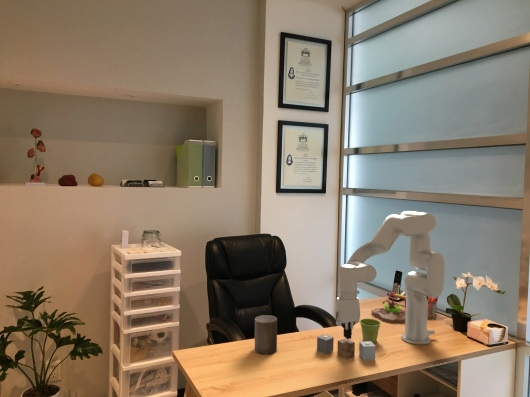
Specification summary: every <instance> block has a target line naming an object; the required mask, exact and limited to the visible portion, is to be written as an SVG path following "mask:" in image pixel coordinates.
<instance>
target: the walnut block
mask: <svg viewBox="0 0 530 397" xmlns="http://www.w3.org/2000/svg"><path fill="white" fill-rule="evenodd" d="M355 346H356V342H355V341H353V340H351V339H347V338H343V339H339V340H337V351H336V352H337V355H338V356H339V357H341V358H343V359H345V360H347V359H350V358H354V357H355V351H356V347H355Z"/></svg>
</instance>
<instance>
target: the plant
mask: <svg viewBox="0 0 530 397" xmlns="http://www.w3.org/2000/svg"><path fill="white" fill-rule="evenodd" d="M395 300H399V297H398V296H393V298H392V300H391V302H390V300H383V301H382V302H381V303H382V306H383V307H378V308H374V309H372V310H371V316H372V317H374V318H377V320H380V321H381V322H384V323H387V324H393V325H394V324H405V316H406V309H402V308H403V306H402V305H401V306H399V304H398V303H397V302H394V301H395ZM385 302H387V304H385Z"/></svg>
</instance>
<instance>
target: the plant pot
mask: <svg viewBox="0 0 530 397" xmlns="http://www.w3.org/2000/svg"><path fill="white" fill-rule="evenodd" d="M381 322H382V321H381V320H380V321H379V319H375V318H362V319H359V323H360V326H361V333H362V334H361V335H362V342H363V341H371V342H372V343H373V344H374V343H377V342H378V340H377V339H378V335H379V330H380V326H381V325H382V323H381Z"/></svg>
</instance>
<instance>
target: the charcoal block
mask: <svg viewBox="0 0 530 397" xmlns="http://www.w3.org/2000/svg"><path fill="white" fill-rule="evenodd" d="M316 351H317V352H320V353H322V354H325V355H328V354H329V353H332V352H334V336H332V335H328V334H325V333H323V334H321V335H319V336H317V338H316Z"/></svg>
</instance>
